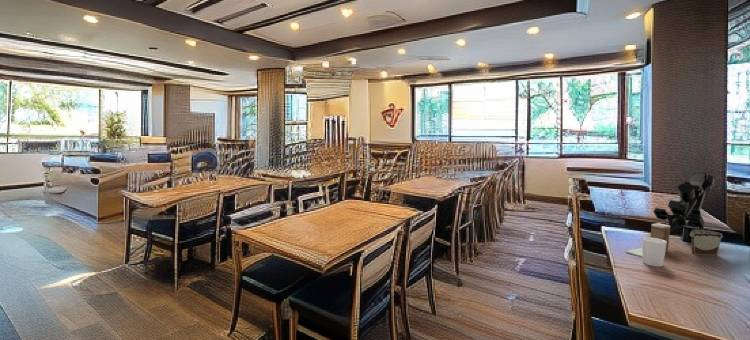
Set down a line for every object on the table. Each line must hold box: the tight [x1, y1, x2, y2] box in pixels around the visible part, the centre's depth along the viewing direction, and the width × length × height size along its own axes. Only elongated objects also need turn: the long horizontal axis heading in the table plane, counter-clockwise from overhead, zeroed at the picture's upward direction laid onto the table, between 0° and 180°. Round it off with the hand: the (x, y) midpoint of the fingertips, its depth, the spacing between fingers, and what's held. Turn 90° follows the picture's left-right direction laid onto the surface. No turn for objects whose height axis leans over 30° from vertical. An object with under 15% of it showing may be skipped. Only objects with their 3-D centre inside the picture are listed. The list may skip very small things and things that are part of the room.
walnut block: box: [650, 222, 671, 253], centre depth 173 cm, size 5×5×12 cm
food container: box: [690, 229, 724, 256], centre depth 170 cm, size 12×6×10 cm, turn 84°
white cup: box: [642, 236, 667, 267], centre depth 155 cm, size 8×8×10 cm
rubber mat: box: [625, 247, 667, 258], centre depth 169 cm, size 14×9×1 cm, turn 115°
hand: (669, 230), depth 175 cm, fingers closed
